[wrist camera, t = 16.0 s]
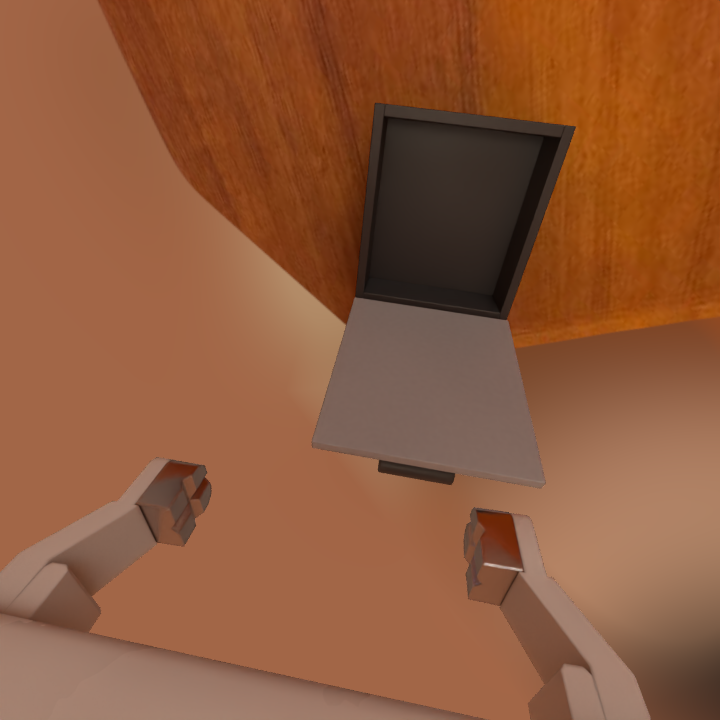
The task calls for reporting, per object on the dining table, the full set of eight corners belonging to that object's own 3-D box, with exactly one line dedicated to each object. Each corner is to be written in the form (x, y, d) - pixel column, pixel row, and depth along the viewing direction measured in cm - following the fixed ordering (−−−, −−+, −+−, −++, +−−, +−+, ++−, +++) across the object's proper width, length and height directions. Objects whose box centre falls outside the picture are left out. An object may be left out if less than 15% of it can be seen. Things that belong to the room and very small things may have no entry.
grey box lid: (311, 441, 21) (312, 481, 24) (546, 483, 20) (515, 518, 23) (354, 296, 32) (351, 337, 35) (508, 320, 31) (490, 359, 34)
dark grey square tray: (381, 106, 29) (375, 102, 25) (554, 126, 28) (576, 126, 24) (362, 280, 36) (355, 298, 33) (496, 300, 36) (506, 321, 32)
